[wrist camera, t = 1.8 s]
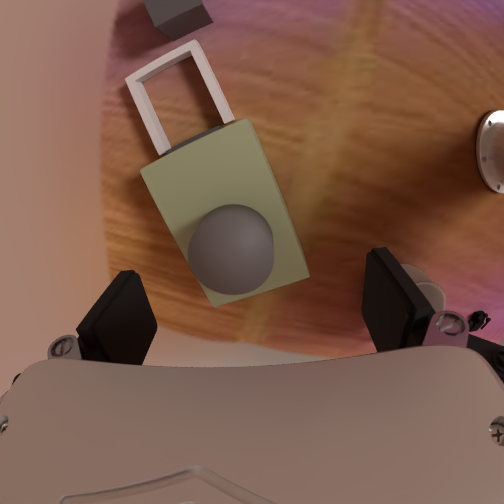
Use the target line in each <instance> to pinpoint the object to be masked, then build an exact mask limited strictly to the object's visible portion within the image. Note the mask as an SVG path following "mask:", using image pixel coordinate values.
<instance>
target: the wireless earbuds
mask: <svg viewBox="0 0 504 504" xmlns="http://www.w3.org/2000/svg"><path fill="white" fill-rule="evenodd" d="M487 317H488V314H486V313H484V312H483V311H478V312H475V313H474V314H473V318H474V320H473V321H471V320H470V321H469V322H468V324H469V332H472V331H477V330H478V329H479V328H480V327H481V326H482V325H483V324H484V320H485V318H486V323H485V324H484V325H483V326H482V327H481V329H483V328H484V327H485V326H486V325H487V323H488V322H489V321H491V318H487Z"/></svg>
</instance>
